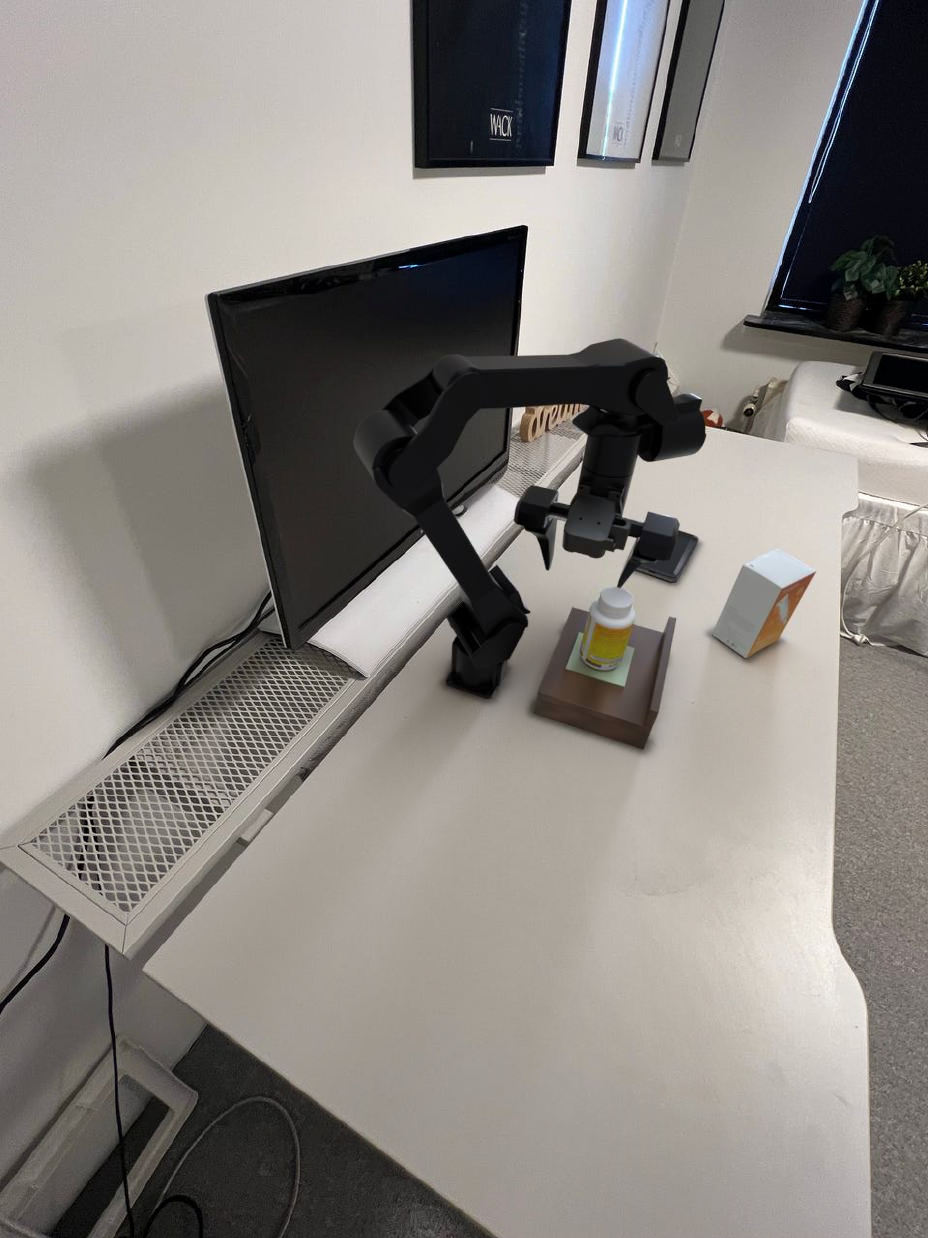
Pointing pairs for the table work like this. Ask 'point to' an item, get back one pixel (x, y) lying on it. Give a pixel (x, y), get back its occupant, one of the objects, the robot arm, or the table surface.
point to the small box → (762, 601)
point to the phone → (672, 559)
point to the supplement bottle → (608, 629)
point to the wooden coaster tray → (607, 684)
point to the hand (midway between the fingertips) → (582, 577)
